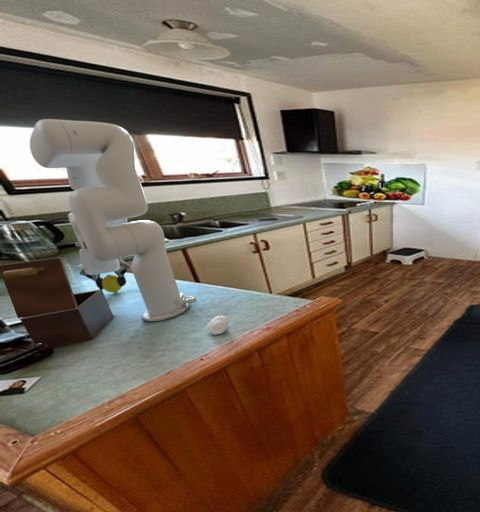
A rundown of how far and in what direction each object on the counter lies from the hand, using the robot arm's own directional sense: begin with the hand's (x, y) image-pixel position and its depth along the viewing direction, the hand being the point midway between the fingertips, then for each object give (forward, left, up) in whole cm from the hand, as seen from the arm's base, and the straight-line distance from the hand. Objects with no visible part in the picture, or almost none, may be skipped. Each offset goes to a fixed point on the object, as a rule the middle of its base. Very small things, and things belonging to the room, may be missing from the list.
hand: (113, 286), depth 108 cm
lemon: (0, 0, -3) cm, 3 cm away
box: (-2, +30, -3) cm, 30 cm away
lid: (-2, +35, +15) cm, 38 cm away
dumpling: (-42, +49, -3) cm, 65 cm away
